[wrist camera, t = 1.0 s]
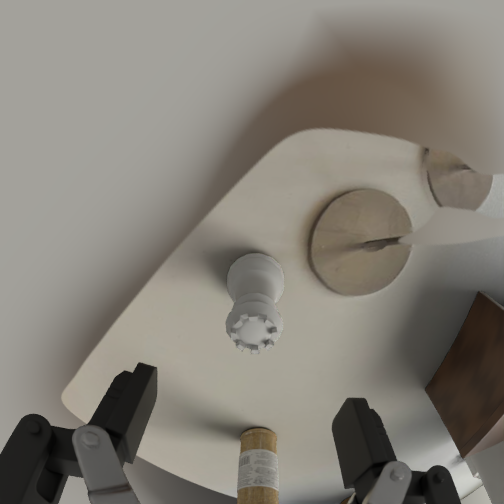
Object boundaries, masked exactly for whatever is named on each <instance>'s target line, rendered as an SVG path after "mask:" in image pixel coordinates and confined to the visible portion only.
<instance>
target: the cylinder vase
mask: <svg viewBox="0 0 504 504" xmlns="http://www.w3.org/2000/svg"><path fill="white" fill-rule="evenodd" d="M470 458H471V460H472V462H473V464H474V466H475V468H476V470H477V472H478V474H479V476H480V478H481V480H482V482H483V484H484V487H485V489H486V491H487V493H488V496H489V498H490V500H491V502H492V504H504V441H502V442H500V443H498V444H496V445H494V446H492V447H490V448H487V449H485V450H483V451H481V452H478V453H476V454H473V455H471V456H470Z"/></svg>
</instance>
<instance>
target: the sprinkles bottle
mask: <svg viewBox="0 0 504 504" xmlns="http://www.w3.org/2000/svg"><path fill="white" fill-rule="evenodd" d="M240 440H241V452H240V456H239V470H238V485H237V493H238V497H237V504H279V502H278V491H279V486H278V458H277V450H276V441H277V436H276V434H275V433H274V432H272V431H270V430H267V429H262V428H258V429H257V428H255V429H250V430H247V431H245V432H244V433H243V434H242V435H241V437H240Z"/></svg>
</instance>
